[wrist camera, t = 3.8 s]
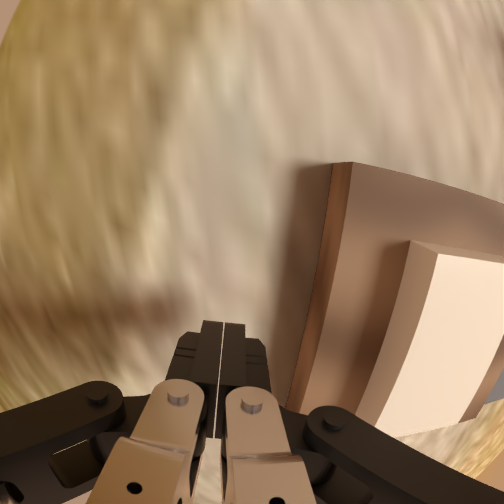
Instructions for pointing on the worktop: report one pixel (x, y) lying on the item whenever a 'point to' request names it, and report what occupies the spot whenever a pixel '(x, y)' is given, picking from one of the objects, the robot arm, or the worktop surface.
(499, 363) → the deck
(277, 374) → the worktop surface
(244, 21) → the worktop surface
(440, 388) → the cream rectangular block
